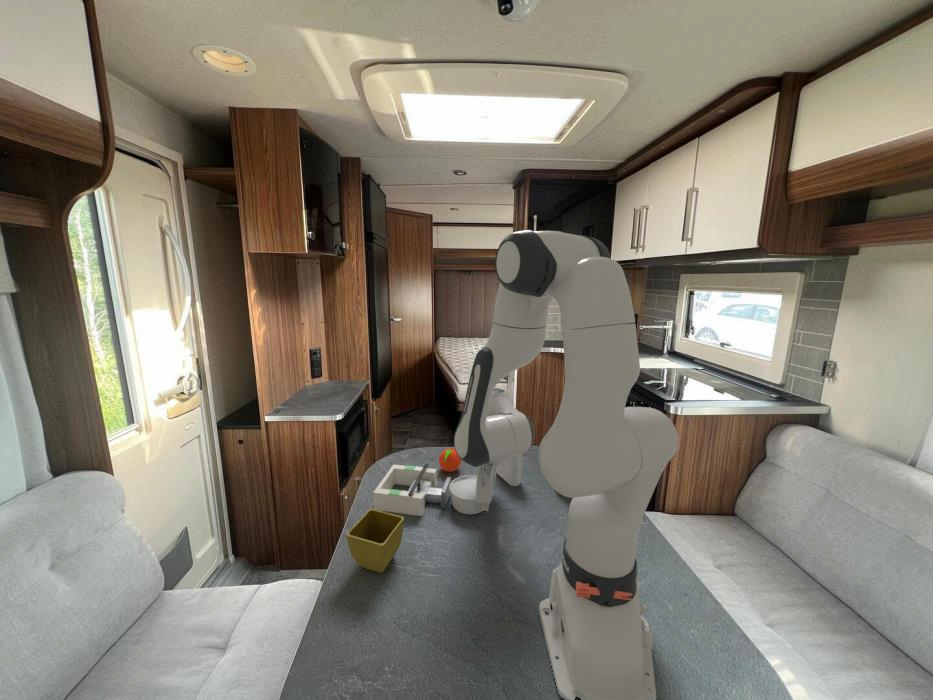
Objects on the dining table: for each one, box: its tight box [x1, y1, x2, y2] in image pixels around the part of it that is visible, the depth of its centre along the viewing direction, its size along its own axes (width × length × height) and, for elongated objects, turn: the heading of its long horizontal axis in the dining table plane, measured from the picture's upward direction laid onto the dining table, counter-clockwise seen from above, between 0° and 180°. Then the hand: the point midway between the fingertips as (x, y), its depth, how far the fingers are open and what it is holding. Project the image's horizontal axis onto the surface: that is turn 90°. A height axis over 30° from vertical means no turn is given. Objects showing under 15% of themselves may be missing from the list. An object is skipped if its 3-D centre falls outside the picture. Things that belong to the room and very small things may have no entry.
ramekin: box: [449, 475, 483, 516], centre depth 96 cm, size 11×11×5 cm
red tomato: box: [438, 447, 462, 473], centre depth 112 cm, size 8×7×7 cm
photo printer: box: [496, 452, 524, 487], centre depth 108 cm, size 10×4×12 cm, turn 28°
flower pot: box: [345, 508, 405, 574], centre depth 76 cm, size 9×9×9 cm
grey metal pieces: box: [407, 462, 452, 510], centre depth 98 cm, size 15×10×6 cm
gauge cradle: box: [372, 464, 438, 517], centre depth 99 cm, size 14×13×5 cm
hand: (487, 497), depth 95 cm, fingers open, 8 cm apart
